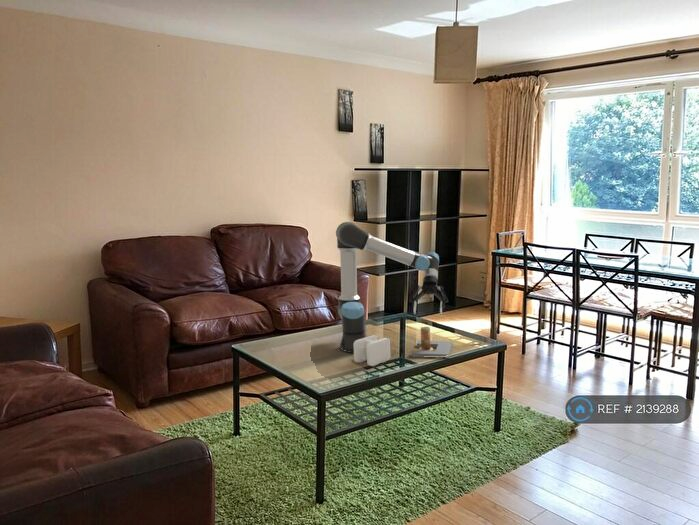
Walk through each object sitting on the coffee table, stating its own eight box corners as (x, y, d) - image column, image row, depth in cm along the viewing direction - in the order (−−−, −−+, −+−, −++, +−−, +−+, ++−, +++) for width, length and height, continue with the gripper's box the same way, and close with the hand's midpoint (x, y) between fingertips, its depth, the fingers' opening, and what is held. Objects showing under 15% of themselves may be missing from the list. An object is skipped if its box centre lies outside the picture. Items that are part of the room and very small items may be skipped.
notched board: (412, 357, 283) (411, 353, 282) (418, 344, 302) (417, 340, 301) (449, 358, 278) (449, 354, 278) (452, 345, 297) (452, 341, 297)
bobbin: (418, 352, 288) (417, 329, 286) (420, 348, 295) (419, 325, 293) (432, 353, 287) (431, 330, 285) (433, 349, 293) (433, 326, 291)
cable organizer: (368, 368, 270) (367, 344, 268) (353, 363, 278) (352, 340, 276) (391, 360, 280) (390, 337, 278) (376, 355, 288) (375, 333, 286)
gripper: (454, 282, 308) (452, 317, 296) (408, 282, 315) (404, 316, 303) (453, 274, 302) (451, 309, 290) (406, 274, 309) (402, 309, 297)
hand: (427, 313), depth 297 cm, fingers open, 13 cm apart
